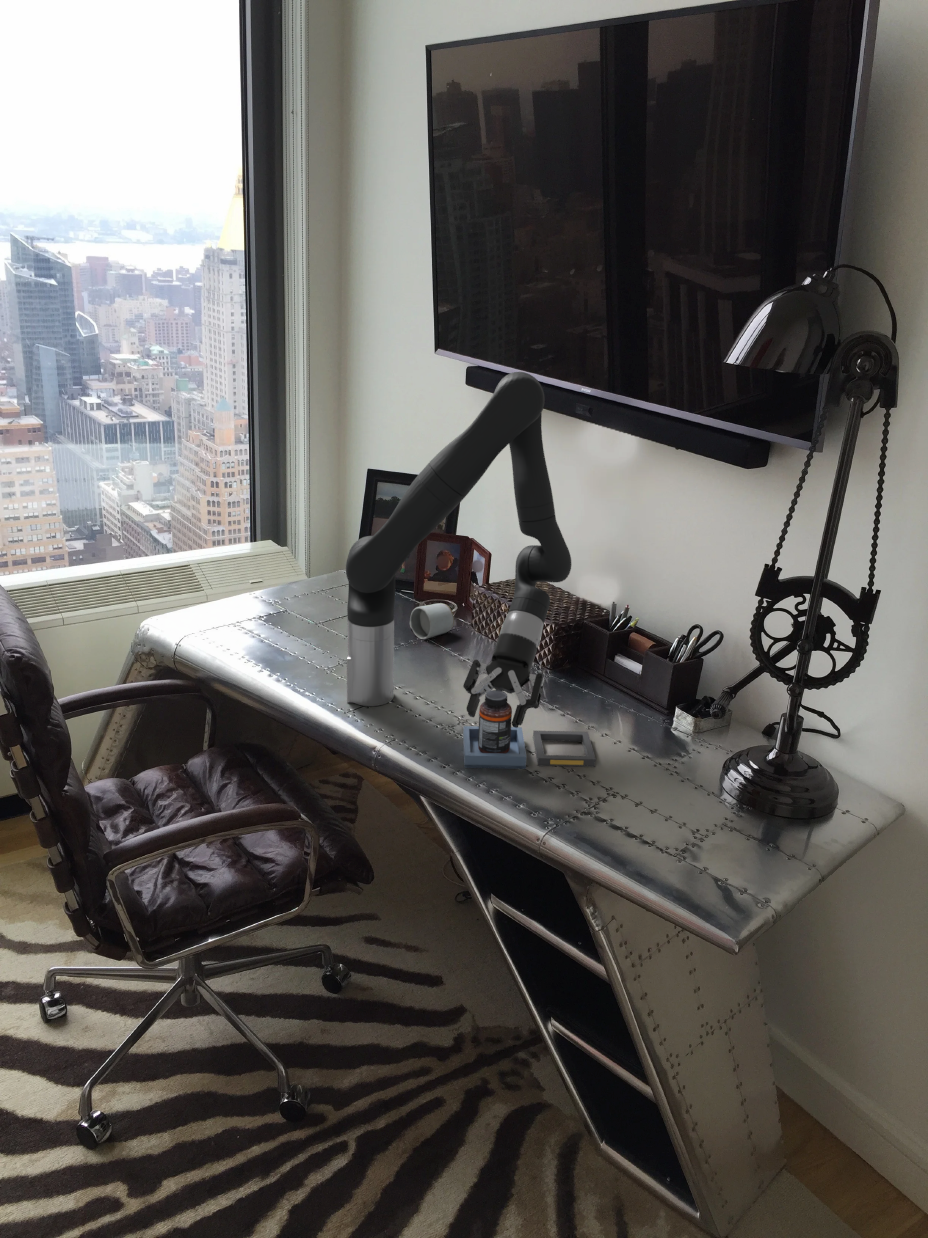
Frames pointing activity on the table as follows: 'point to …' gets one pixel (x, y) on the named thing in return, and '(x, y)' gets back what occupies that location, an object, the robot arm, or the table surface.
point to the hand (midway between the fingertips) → (492, 721)
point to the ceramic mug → (431, 620)
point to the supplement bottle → (495, 723)
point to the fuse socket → (563, 759)
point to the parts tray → (493, 760)
